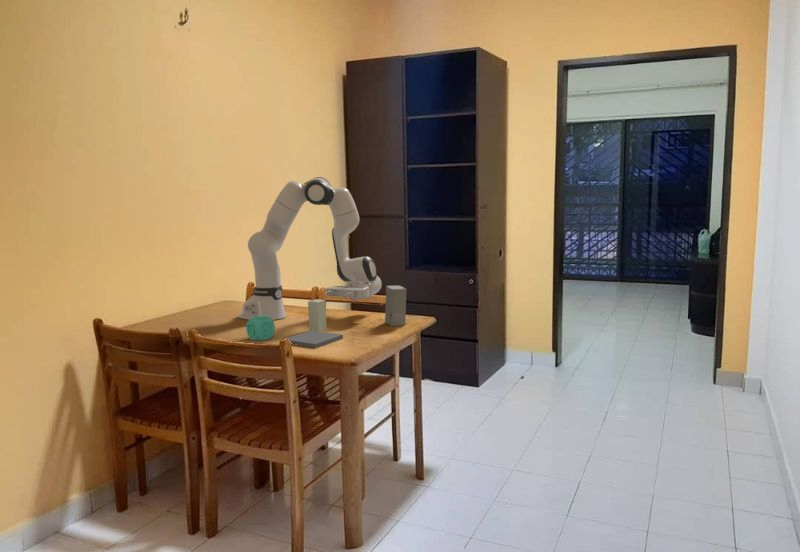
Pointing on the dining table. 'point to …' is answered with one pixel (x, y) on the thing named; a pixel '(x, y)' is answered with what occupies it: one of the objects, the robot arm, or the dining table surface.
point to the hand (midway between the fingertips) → (336, 295)
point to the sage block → (317, 315)
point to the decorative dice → (260, 328)
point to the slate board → (314, 338)
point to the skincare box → (395, 305)
